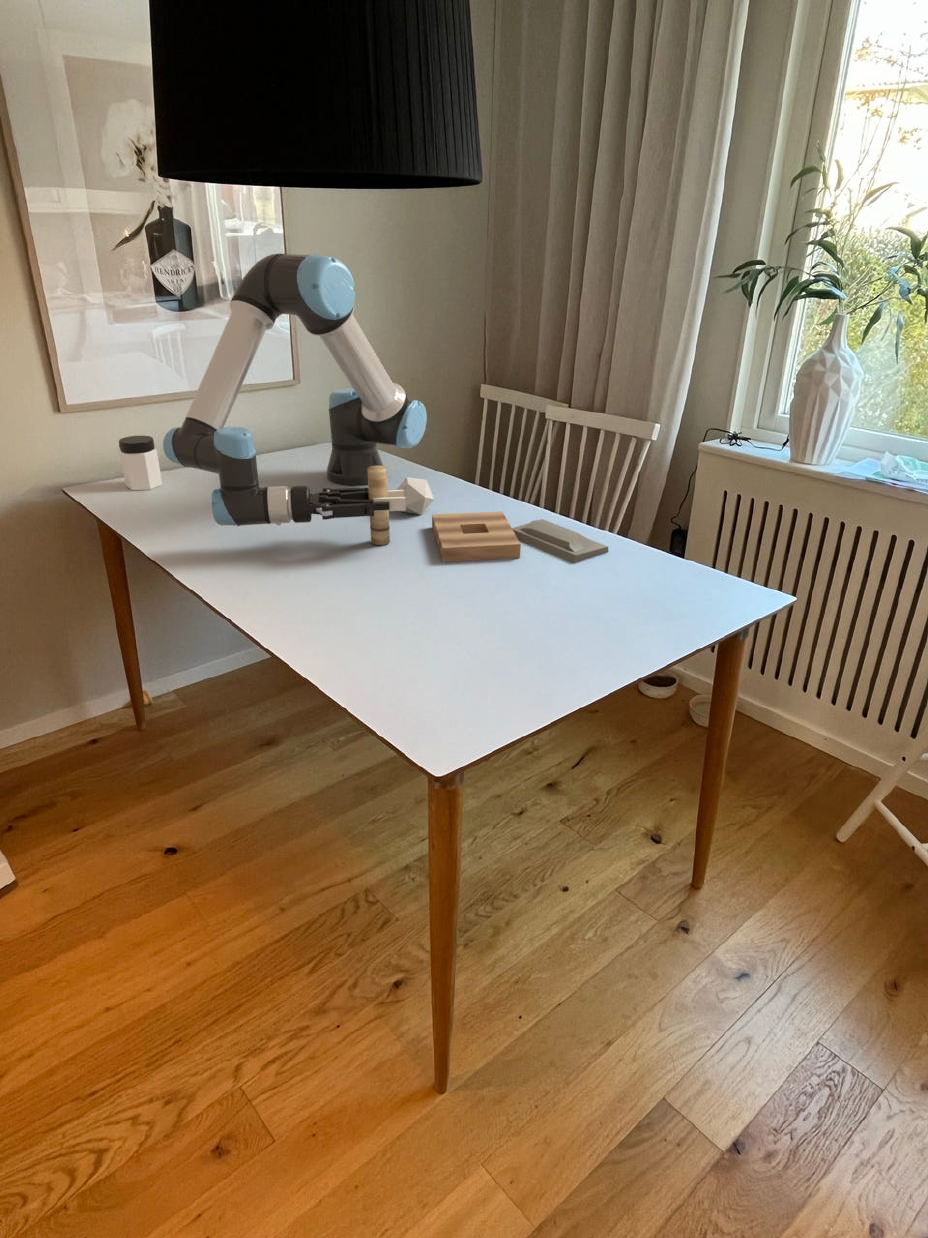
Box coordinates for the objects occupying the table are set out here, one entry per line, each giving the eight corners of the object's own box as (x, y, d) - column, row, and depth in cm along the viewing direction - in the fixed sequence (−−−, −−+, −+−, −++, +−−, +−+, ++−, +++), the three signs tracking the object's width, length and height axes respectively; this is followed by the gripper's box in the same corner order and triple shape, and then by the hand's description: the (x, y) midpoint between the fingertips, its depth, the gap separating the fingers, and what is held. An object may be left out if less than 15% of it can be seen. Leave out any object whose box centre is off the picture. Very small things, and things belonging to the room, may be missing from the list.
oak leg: (370, 538, 172) (366, 465, 164) (389, 537, 172) (386, 465, 165) (371, 545, 168) (367, 471, 161) (390, 544, 169) (387, 470, 161)
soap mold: (574, 566, 161) (575, 550, 160) (508, 537, 175) (508, 522, 173) (608, 554, 167) (609, 538, 165) (541, 527, 181) (542, 513, 179)
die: (439, 511, 190) (425, 474, 191) (435, 505, 181) (420, 466, 182) (407, 524, 191) (393, 487, 191) (402, 518, 182) (387, 479, 183)
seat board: (432, 527, 179) (431, 514, 177) (501, 524, 181) (502, 511, 180) (442, 561, 161) (442, 547, 160) (520, 557, 163) (520, 544, 162)
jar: (143, 479, 209) (134, 433, 203) (168, 482, 206) (161, 436, 201) (119, 488, 201) (109, 441, 196) (145, 492, 199) (136, 445, 193)
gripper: (294, 508, 173) (402, 503, 176) (290, 536, 158) (408, 531, 161) (291, 474, 169) (401, 470, 172) (287, 500, 154) (407, 495, 157)
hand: (404, 499), depth 167 cm, fingers closed on oak leg, 4 cm apart
